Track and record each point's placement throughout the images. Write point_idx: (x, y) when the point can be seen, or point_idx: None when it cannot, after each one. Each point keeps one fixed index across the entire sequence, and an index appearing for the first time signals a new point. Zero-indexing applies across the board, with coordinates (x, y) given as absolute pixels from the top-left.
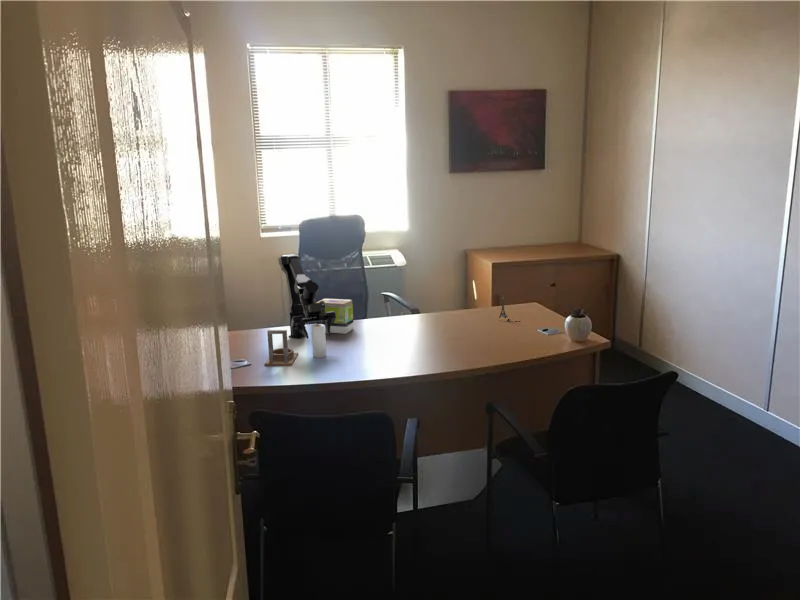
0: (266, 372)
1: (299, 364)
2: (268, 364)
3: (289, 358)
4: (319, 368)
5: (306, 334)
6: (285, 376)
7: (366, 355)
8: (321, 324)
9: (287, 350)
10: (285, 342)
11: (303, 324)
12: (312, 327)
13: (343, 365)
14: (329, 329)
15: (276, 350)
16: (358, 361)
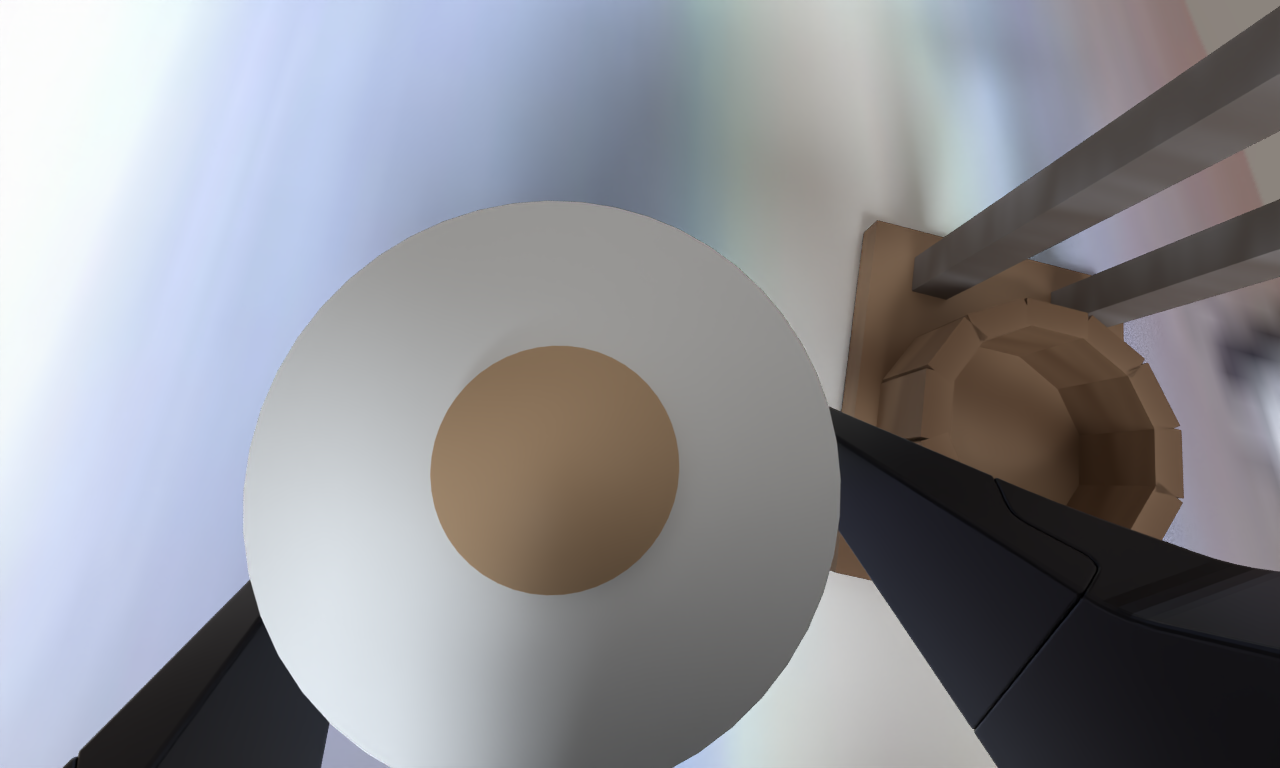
0: (1047, 136)
1: (796, 251)
2: (1078, 279)
3: (916, 342)
4: (617, 100)
5: (866, 426)
6: (889, 13)
7: (31, 348)
8: (375, 699)
9: (1019, 202)
10: (1173, 97)
11: (1238, 622)
12: (790, 331)
13: (383, 111)
14: (196, 645)
15: (1123, 522)
16: (199, 177)
